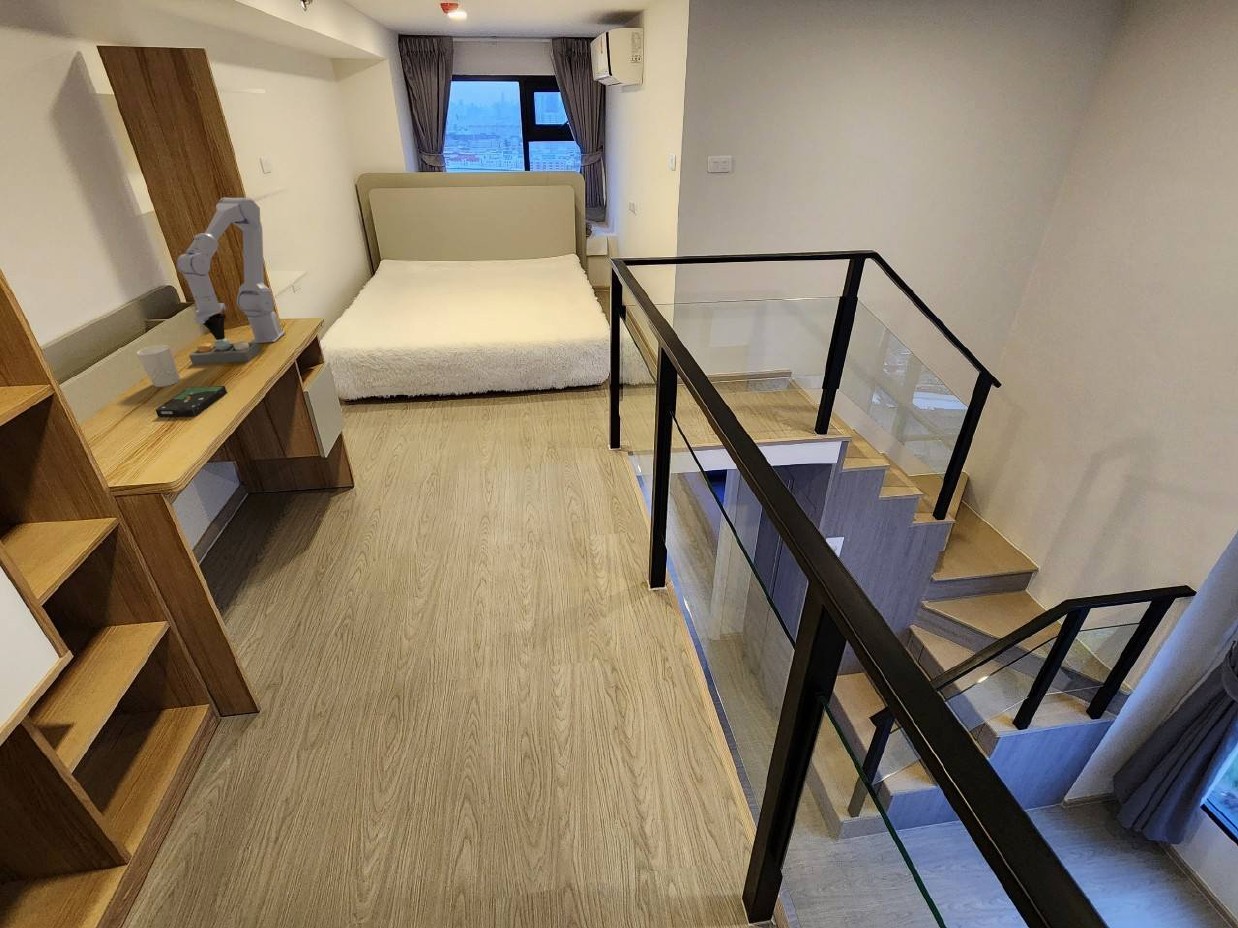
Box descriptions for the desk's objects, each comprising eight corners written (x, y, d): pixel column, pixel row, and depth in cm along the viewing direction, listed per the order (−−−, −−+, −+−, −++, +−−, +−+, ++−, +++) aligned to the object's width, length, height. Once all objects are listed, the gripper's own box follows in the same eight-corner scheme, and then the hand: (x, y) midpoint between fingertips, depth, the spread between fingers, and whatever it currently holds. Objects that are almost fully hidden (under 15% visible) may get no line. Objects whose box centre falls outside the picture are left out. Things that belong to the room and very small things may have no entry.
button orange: (204, 351, 199) (201, 343, 198) (217, 350, 199) (214, 342, 198) (197, 356, 196) (194, 348, 194) (211, 355, 196) (207, 347, 194)
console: (206, 354, 202) (203, 345, 201) (261, 351, 203) (258, 342, 201) (192, 364, 194) (188, 355, 193) (249, 361, 195) (245, 352, 194)
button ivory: (239, 349, 200) (237, 341, 198) (252, 348, 200) (250, 340, 198) (234, 354, 196) (231, 346, 195) (247, 353, 196) (244, 345, 195)
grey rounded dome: (220, 346, 199) (217, 338, 197) (233, 346, 199) (230, 338, 197) (214, 351, 195) (211, 343, 194) (227, 350, 195) (224, 342, 194)
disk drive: (197, 419, 163) (228, 394, 175) (193, 409, 161) (225, 384, 174) (158, 419, 163) (192, 394, 176) (153, 410, 162) (188, 385, 174)
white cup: (189, 377, 186) (175, 344, 181) (170, 388, 179) (155, 354, 174) (164, 376, 187) (150, 344, 181) (144, 387, 180) (129, 354, 175)
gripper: (202, 289, 194) (218, 332, 201) (177, 303, 182) (195, 348, 189) (226, 288, 195) (241, 330, 202) (202, 302, 182) (219, 346, 189)
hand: (220, 339), depth 195 cm, fingers closed
